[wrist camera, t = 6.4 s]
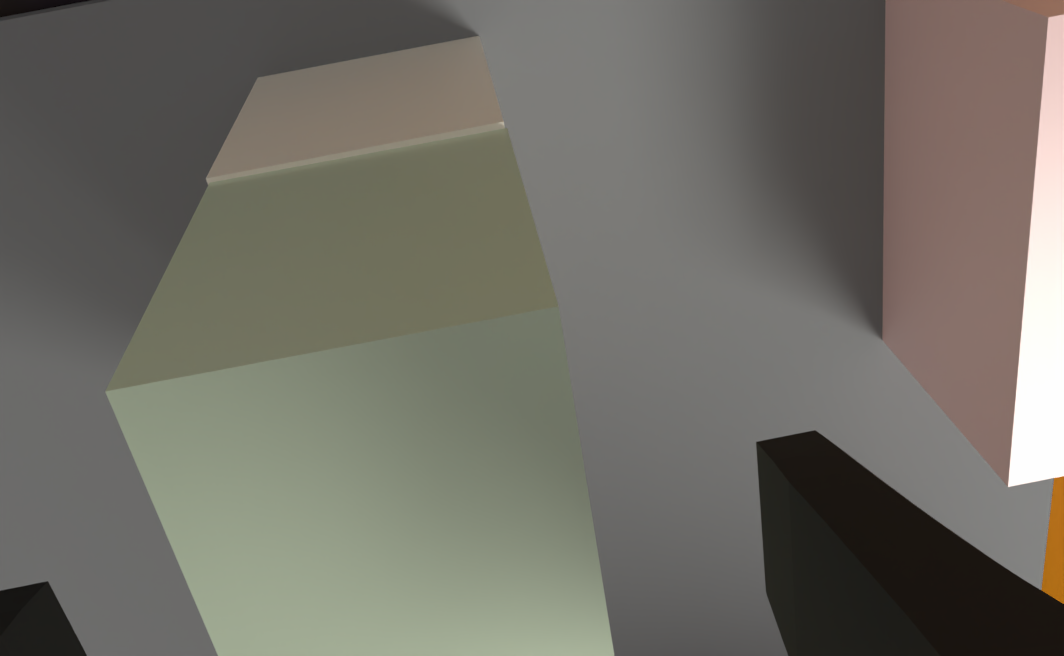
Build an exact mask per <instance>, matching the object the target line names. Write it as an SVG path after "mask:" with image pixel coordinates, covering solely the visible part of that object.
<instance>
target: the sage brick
mask: <svg viewBox="0 0 1064 656" xmlns="http://www.w3.org/2000/svg"><path fill="white" fill-rule="evenodd" d="M105 392H106V395H107V397H108V399H109V402H110V404H111V406H112V409H113V411H114V413H115V416H116V418H117V420H118V423H119V425H120V428H121V430H122V432H123V435H124V437H125V439H126V442H127V444H128V446H129V449H130V451H131V453H132V456H133V458H134V460H135V463H136V465H137V467H138V470H139V472H140V474H141V477H142V479H143V481H144V484H145V486H146V488H147V491H148V493H149V495H150V498H151V500H152V502H153V505H154V507H155V509H156V512H157V514H158V516H159V519H160V521H161V523H162V526H163V528H164V531H165V533H166V535H167V538H168V540H169V542H170V545H171V547H172V549H173V552H174V554H175V556H176V559H177V561H178V563H179V566H180V568H181V570H182V573H183V575H184V577H185V580H186V582H187V584H188V587H189V589H190V591H191V594H192V596H193V598H194V601H195V603H196V605H197V608H198V610H199V612H200V615H201V617H202V619H203V622H204V624H205V626H206V629H207V631H208V634H209V636H210V638H211V641H212V643H213V645H214V648H215V650H216V652H217V655H218V656H614V650H613V644H612V637H611V631H610V625H609V619H608V612H607V606H606V600H605V594H604V587H603V581H602V575H601V568H600V562H599V556H598V550H597V543H596V537H595V531H594V525H593V518H592V512H591V506H590V500H589V493H588V487H587V481H586V475H585V468H584V462H583V456H582V449H581V443H580V437H579V431H578V424H577V418H576V412H575V406H574V399H573V393H572V387H571V381H570V374H569V368H568V362H567V356H566V349H565V343H564V337H563V330H562V324H561V318H560V312H559V306H558V302H557V299H556V295H555V292H554V289H553V285H552V282H551V278H550V275H549V271H548V268H547V264H546V261H545V257H544V254H543V250H542V247H541V244H540V240H539V237H538V233H537V230H536V226H535V223H534V219H533V216H532V212H531V209H530V206H529V202H528V199H527V195H526V192H525V188H524V185H523V181H522V178H521V174H520V171H519V167H518V164H517V161H516V157H515V154H514V150H513V147H512V143H511V140H510V136H509V133H508V129H507V128H504V129H499V130H493V131H488V132H482V133H477V134H471V135H466V136H461V137H455V138H450V139H444V140H439V141H433V142H428V143H423V144H417V145H412V146H406V147H401V148H395V149H390V150H384V151H379V152H374V153H368V154H363V155H357V156H352V157H346V158H341V159H336V160H330V161H325V162H319V163H314V164H308V165H303V166H297V167H292V168H287V169H281V170H276V171H270V172H265V173H259V174H254V175H249V176H243V177H238V178H232V179H227V180H221V181H216V182H211V183H209V185H208V187H207V189H206V191H205V193H204V195H203V197H202V199H201V201H200V203H199V205H198V207H197V209H196V211H195V213H194V215H193V217H192V219H191V221H190V223H189V225H188V227H187V229H186V231H185V233H184V235H183V237H182V239H181V241H180V243H179V245H178V247H177V249H176V251H175V253H174V255H173V257H172V259H171V261H170V263H169V265H168V267H167V269H166V271H165V273H164V275H163V277H162V279H161V281H160V283H159V285H158V287H157V289H156V291H155V293H154V295H153V297H152V299H151V301H150V303H149V305H148V307H147V309H146V311H145V313H144V315H143V317H142V319H141V321H140V323H139V325H138V327H137V329H136V331H135V333H134V335H133V337H132V339H131V341H130V343H129V345H128V347H127V349H126V351H125V353H124V355H123V357H122V359H121V361H120V363H119V365H118V367H117V369H116V371H115V373H114V375H113V377H112V379H111V381H110V383H109V385H108V387H107V389H106V391H105Z"/></svg>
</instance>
